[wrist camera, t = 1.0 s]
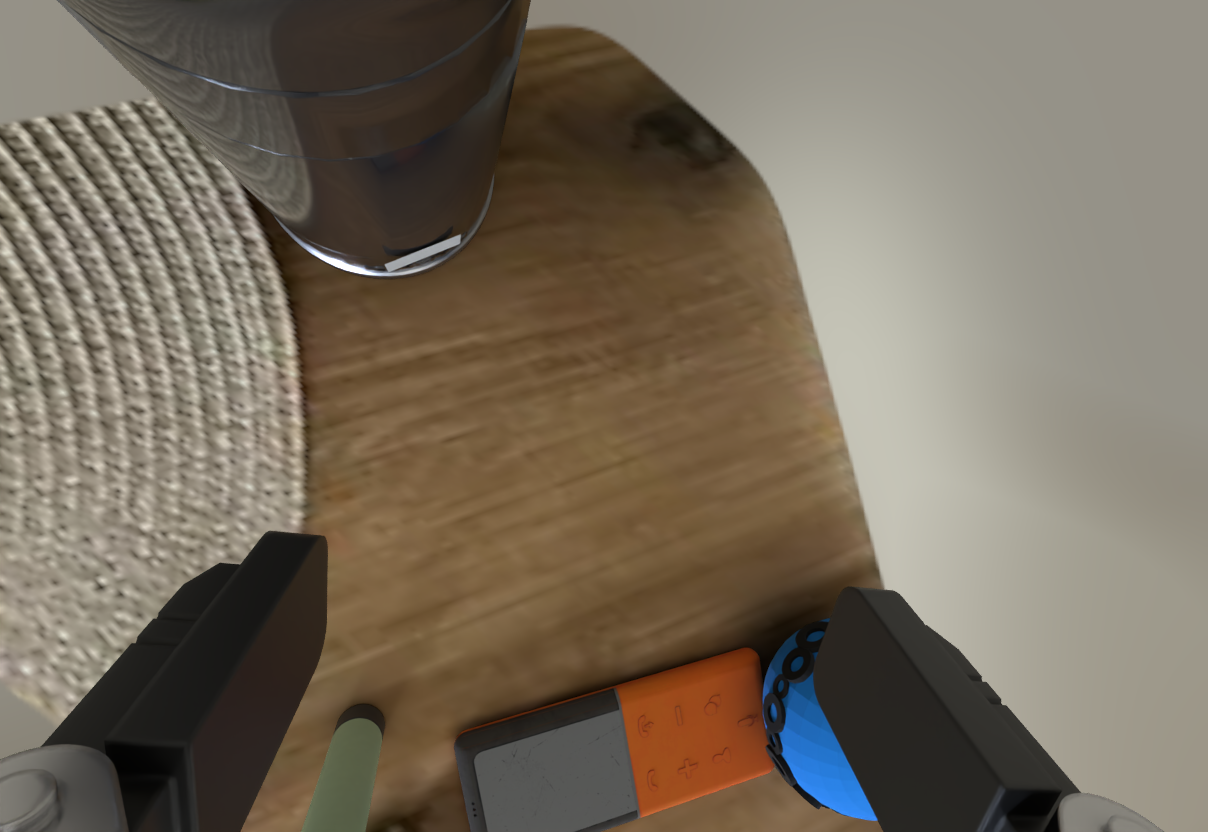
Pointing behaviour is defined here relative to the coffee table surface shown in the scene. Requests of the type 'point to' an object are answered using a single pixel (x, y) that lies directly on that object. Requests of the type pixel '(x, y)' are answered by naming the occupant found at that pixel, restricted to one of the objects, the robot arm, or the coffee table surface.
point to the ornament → (807, 730)
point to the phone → (618, 750)
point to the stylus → (348, 773)
